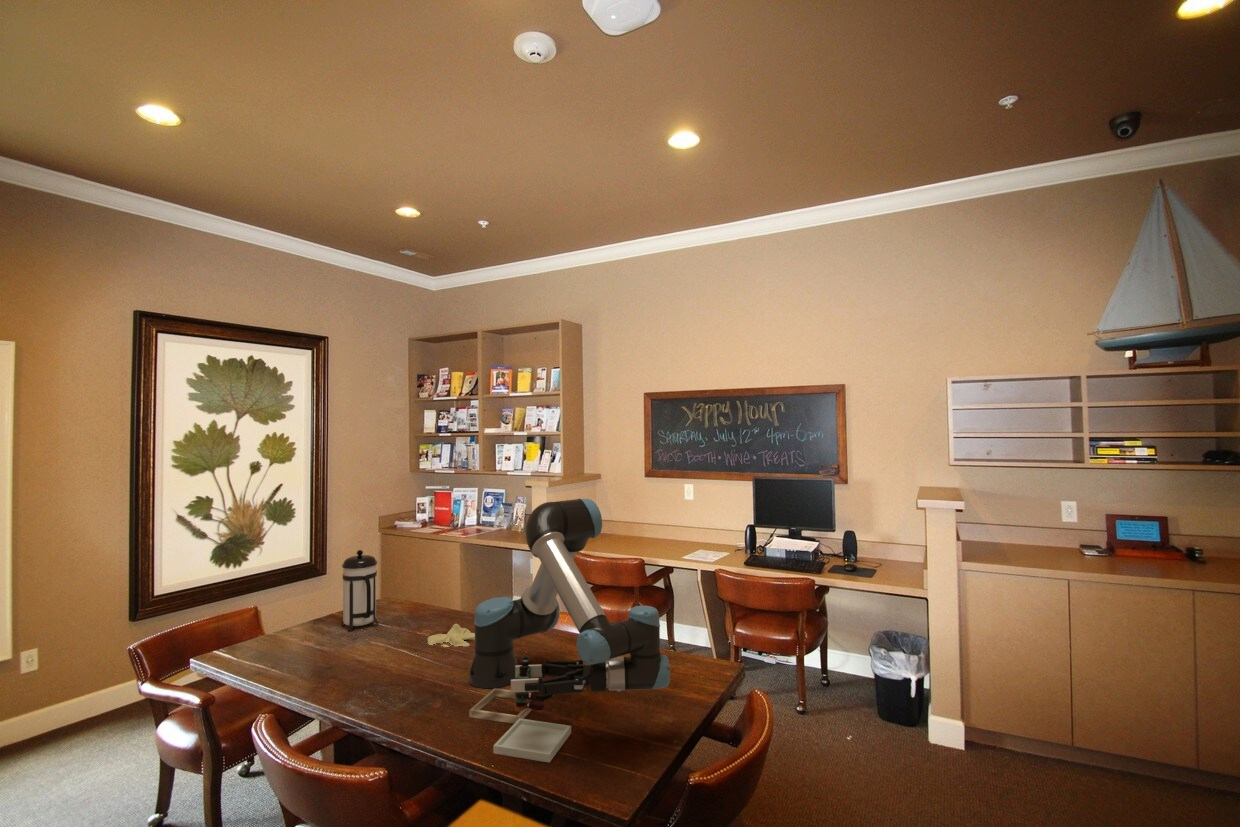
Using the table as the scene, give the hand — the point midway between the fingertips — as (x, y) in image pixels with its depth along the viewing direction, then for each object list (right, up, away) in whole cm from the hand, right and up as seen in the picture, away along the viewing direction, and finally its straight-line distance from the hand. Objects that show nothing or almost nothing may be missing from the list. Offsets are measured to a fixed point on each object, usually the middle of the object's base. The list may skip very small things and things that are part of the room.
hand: (513, 678), depth 140 cm
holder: (-5, -16, +18) cm, 25 cm away
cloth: (-34, -19, +71) cm, 81 cm away
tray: (+5, -16, 0) cm, 16 cm away
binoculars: (+5, -7, 0) cm, 8 cm away
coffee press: (-77, -20, +88) cm, 119 cm away
